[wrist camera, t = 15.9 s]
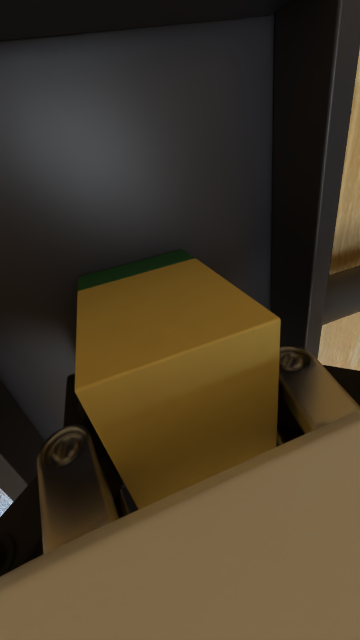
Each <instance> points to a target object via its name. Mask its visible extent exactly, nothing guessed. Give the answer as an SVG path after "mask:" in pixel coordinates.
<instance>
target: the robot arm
mask: <svg viewBox="0 0 360 640" xmlns="http://www.w3.org/2000/svg"><path fill="white" fill-rule="evenodd" d="M277 442H278V444H279V446H278V447H275V448H273V449H271V450H269V451H266V452H264V453H262V454H260V455H258V456H255V457H253V458H251V459H249V460H247V461H244V462H242V463H240V464H238V465H236V466H233V467H231V468H229V469H227V470H224V471H222V472H220V473H218V474H216V475H213V476H211V477H209V478H207V479H205V480H202V481H200V482H198V483H196V484H194V485H191V486H189V487H187V488H185V489H183V490H180V491H178V492H176V493H174V494H172V495H170V496H167V497H165V498H163V499H161V500H159V501H157V502H154V503H152V504H150V505H148V506H146V507H144V508H141V509H139V510H137V511H135V512H133V513H130V512H129V509H128V506H127V504H126V501H125V498H124V495H123V492H122V490H121V488H122V486H123V485H124V482H123V480H122V478H121V476H120V474H119V473H118V471H117V469H116V467H115V465H114V463H113V461H112V460H111V458H110V456H109V454H108V452H107V450H106V449H105V447H104V445H103V443H102V441H101V439H100V437H99V436H98V434H97V432H96V430H95V428H94V426H93V424H92V423H91V421H90V419H89V417H88V415H87V413H86V412H85V410H84V408H83V406H82V404H81V402H80V400H79V399H78V397H77V395H76V393H75V374H72V375H69V376H68V377H67V383H66V397H65V411H64V425H63V428H61V429H59V430H58V431H56V432H55V433H53V434H52V435H51V436H50V437H49V438H48V439H47V440H46V441H45V442H44V444H43V445H42V447H41V448H40V451H39V453H38V457H37V470H38V474H37V475H36V477H35V478H34V479H33V480H32V481H31V482H30V484H29V485H28V486H27V487H26V488H25V489H24V490H23V492H22V493H21V494H20V495H19V496H18V497H17V499H16V500H15V501H14V502H13V503H12V504H11V505H10V507H9V508H8V509H7V510H6V511H5V512H4V514H3V515H2V516H1V517H0V640H360V371H357V370H351V369H345V368H339V367H333V366H326V365H322V364H321V363H320V362H319V361H318V360H317V359H316V357H315V356H314V355H313V354H312V353H310V352H309V351H308V350H306V349H304V348H301V347H298V346H290V345H287V346H280V354H279V384H278V414H277Z"/></svg>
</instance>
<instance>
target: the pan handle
mask: <svg viewBox="0 0 360 640" xmlns="http://www.w3.org/2000/svg"><path fill="white" fill-rule="evenodd" d="M357 312H360V265H359V266H356V267H353V268H350V269H347V270H344V271H341V272H338V273H335V274H332V275H329V277H328V285H327V292H326V299H325V307H324V314H323V321H322V325H324V324H327V323H329V322H332V321H335V320H338V319H340V318H343V317H346V316H349V315H351V314H354V313H357Z"/></svg>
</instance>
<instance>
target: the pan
mask: <svg viewBox="0 0 360 640" xmlns="http://www.w3.org/2000/svg"><path fill="white" fill-rule="evenodd" d="M359 49H360V0H0V488H1V489H2V490H3V491H4V492H5V493H6V494H7V495H8V496H9V497H10V498H11V499H12V500H13V501H15V500H16V499H17V497H18V496H19V495H20V494H21V493H22V492H23V490H24V489H25V488H26V487H27V486H28V485H29V484H30V482H31V481H32V480H33V479H34V478H35V477H36V475H37V474H38V470H37V457H38V453H39V451H40V448H41V447H42V445H43V444H44V442H45V441H46V440H47V439H48V438H49V437H50V436H51V435H52V434H53V433H55V432H56V431H58V430H59V429H61V428H63V425H64V411H65V397H66V383H67V377H68V376H69V375H72V374H75V363H76V329H77V296H78V278H79V277H81V276H84V275H88V274H92V273H95V272H99V271H103V270H106V269H110V268H114V267H117V266H121V265H125V264H128V263H132V262H136V261H139V260H143V259H147V258H150V257H154V256H158V255H161V254H165V253H169V252H172V251H176V250H180V249H183V250H184V251H186V252H187V253H188V254H190V255H191V256H193V257H194V258H196V259H197V260H199V261H200V262H202V263H203V264H204V265H206V266H207V267H209V268H210V269H212V270H213V271H214V272H216V273H217V274H219V275H220V276H221V277H223V278H224V279H226V280H227V281H228V282H230V283H231V284H233V285H234V286H235V287H237V288H238V289H240V290H241V291H242V292H244V293H245V294H247V295H248V296H249V297H251V298H252V299H254V300H255V301H256V302H258V303H259V304H261V305H262V306H264V307H265V308H266V309H268V310H269V311H271V312H272V313H273V314H275V315H276V316H278V317H279V318H280V320H281V324H280V346H287V345H290V346H298V347H301V348H304V349H306V350H308V351H309V352H310V353H312V354H313V355H314V356H315V357H316V359H317V358H318V351H319V344H320V336H321V329H322V321H323V314H324V307H325V299H326V292H327V285H328V277H329V270H330V263H331V255H332V248H333V240H334V233H335V226H336V218H337V211H338V204H339V196H340V189H341V181H342V174H343V167H344V159H345V152H346V145H347V137H348V130H349V123H350V115H351V108H352V100H353V93H354V86H355V78H356V71H357V64H358V56H359ZM278 446H279V444H278V442H277V443H276V447H278ZM121 490H122V492H123V495H124V498H125V501H126V504H127V506H128V509H129V512H130V513H133V512H135V511H137V510H138V508H137V506H136V504H135V502H134V500H133V498H132V497H131V495H130V493H129V491H128V489H127V487H126V486H125V484H124V485H123V486H122V488H121Z"/></svg>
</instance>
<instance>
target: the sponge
mask: <svg viewBox="0 0 360 640" xmlns="http://www.w3.org/2000/svg"><path fill="white" fill-rule="evenodd" d="M280 324H281V320H280V318H279V317H278V316H276V315H275V314H273V313H272V312H271V311H269V310H268V309H266V308H265V307H264V306H262V305H261V304H259V303H258V302H256V301H255V300H254V299H252V298H251V297H249V296H248V295H247V294H245V293H244V292H242V291H241V290H240V289H238V288H237V287H235V286H234V285H233V284H231V283H230V282H228V281H227V280H226V279H224V278H223V277H221V276H220V275H219V274H217V273H216V272H214V271H213V270H212V269H210V268H209V267H207V266H206V265H204V264H203V263H202V262H200V261H199V260H197V259H196V258H194V257H193V256H191V255H190V254H188V253H187V252H186V251H184V250H183V249H180V250H176V251H172V252H169V253H165V254H161V255H158V256H154V257H150V258H147V259H143V260H139V261H136V262H132V263H128V264H125V265H121V266H117V267H114V268H110V269H106V270H103V271H99V272H95V273H92V274H88V275H84V276H81V277H79V278H78V296H77V329H76V363H75V393H76V395H77V397H78V399H79V400H80V402H81V404H82V406H83V408H84V410H85V412H86V413H87V415H88V417H89V419H90V421H91V423H92V424H93V426H94V428H95V430H96V432H97V434H98V436H99V437H100V439H101V441H102V443H103V445H104V447H105V449H106V450H107V452H108V454H109V456H110V458H111V460H112V461H113V463H114V465H115V467H116V469H117V471H118V473H119V474H120V476H121V478H122V480H123V482H124V484H125V486H126V487H127V489H128V491H129V493H130V495H131V497H132V498H133V500H134V502H135V504H136V506H137V508H138V510H139V509H141V508H144V507H146V506H148V505H150V504H152V503H154V502H157V501H159V500H161V499H163V498H165V497H167V496H170V495H172V494H174V493H176V492H178V491H180V490H183V489H185V488H187V487H189V486H191V485H194V484H196V483H198V482H200V481H202V480H205V479H207V478H209V477H211V476H213V475H216V474H218V473H220V472H222V471H224V470H227V469H229V468H231V467H233V466H236V465H238V464H240V463H242V462H244V461H247V460H249V459H251V458H253V457H255V456H258V455H260V454H262V453H264V452H266V451H269V450H271V449H273V448H275V447H276V443H277V414H278V384H279V354H280Z"/></svg>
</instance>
